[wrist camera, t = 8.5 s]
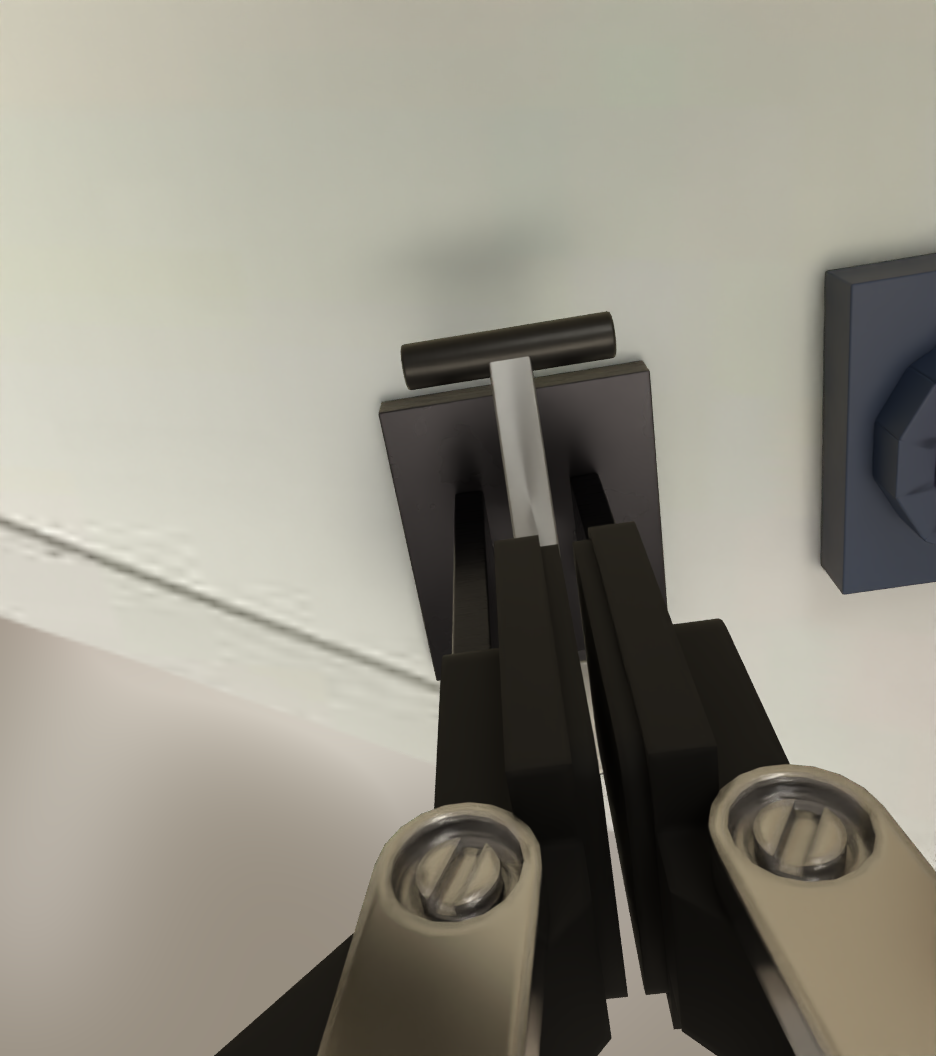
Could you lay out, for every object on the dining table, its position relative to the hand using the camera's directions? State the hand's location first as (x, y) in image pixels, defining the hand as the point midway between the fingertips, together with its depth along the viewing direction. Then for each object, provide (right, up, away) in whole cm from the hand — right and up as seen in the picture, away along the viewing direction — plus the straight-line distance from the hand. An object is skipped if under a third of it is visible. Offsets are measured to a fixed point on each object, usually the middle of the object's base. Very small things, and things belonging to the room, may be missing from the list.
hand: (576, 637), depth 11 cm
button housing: (+15, +5, +20) cm, 26 cm away
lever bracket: (+1, +1, +22) cm, 22 cm away
